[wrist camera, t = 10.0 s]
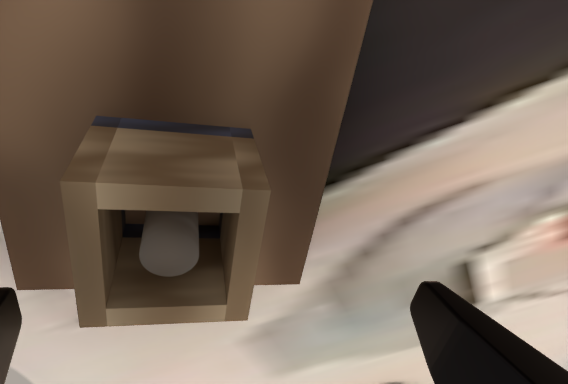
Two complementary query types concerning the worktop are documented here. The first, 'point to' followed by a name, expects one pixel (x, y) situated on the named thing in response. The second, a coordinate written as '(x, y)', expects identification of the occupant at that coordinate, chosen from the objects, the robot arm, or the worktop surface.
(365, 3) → the pin board
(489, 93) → the worktop surface
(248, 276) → the sleeve
